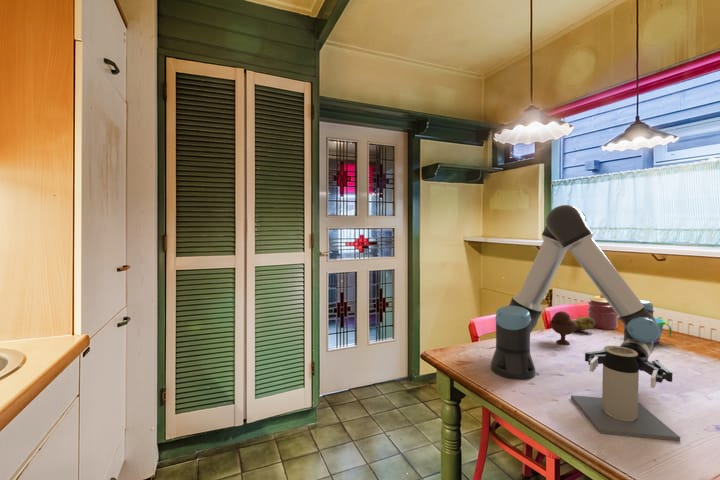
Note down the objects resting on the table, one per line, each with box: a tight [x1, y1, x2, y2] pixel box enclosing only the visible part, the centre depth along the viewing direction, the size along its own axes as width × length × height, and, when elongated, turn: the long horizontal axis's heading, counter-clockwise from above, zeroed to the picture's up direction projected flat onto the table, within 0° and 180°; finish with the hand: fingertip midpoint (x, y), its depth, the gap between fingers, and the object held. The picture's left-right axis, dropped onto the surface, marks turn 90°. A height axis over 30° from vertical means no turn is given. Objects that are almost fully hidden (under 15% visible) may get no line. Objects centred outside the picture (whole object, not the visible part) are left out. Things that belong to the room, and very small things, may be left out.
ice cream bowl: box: [549, 310, 577, 346], centre depth 153 cm, size 11×11×15 cm
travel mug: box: [601, 345, 640, 420], centre depth 94 cm, size 8×8×18 cm
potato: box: [571, 316, 595, 332], centre depth 170 cm, size 8×13×8 cm, turn 42°
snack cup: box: [653, 317, 673, 344], centre depth 155 cm, size 16×10×10 cm
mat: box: [570, 394, 681, 442], centre depth 94 cm, size 18×18×1 cm
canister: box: [587, 293, 619, 330], centre depth 178 cm, size 13×13×18 cm
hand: (620, 374), depth 93 cm, fingers open, 13 cm apart
